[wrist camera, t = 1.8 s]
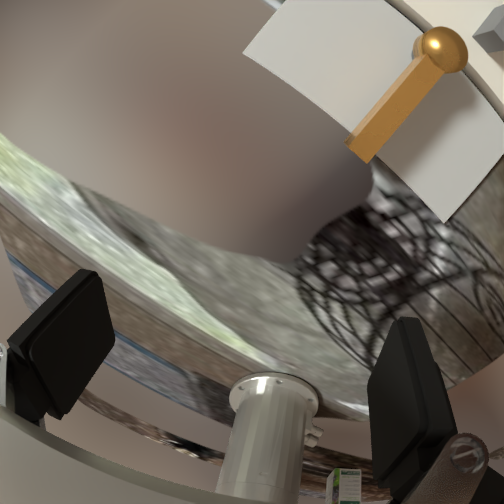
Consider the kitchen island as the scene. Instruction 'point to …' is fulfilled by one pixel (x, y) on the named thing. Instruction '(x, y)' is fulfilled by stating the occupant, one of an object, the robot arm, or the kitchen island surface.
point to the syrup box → (344, 486)
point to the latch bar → (409, 89)
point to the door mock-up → (385, 74)
